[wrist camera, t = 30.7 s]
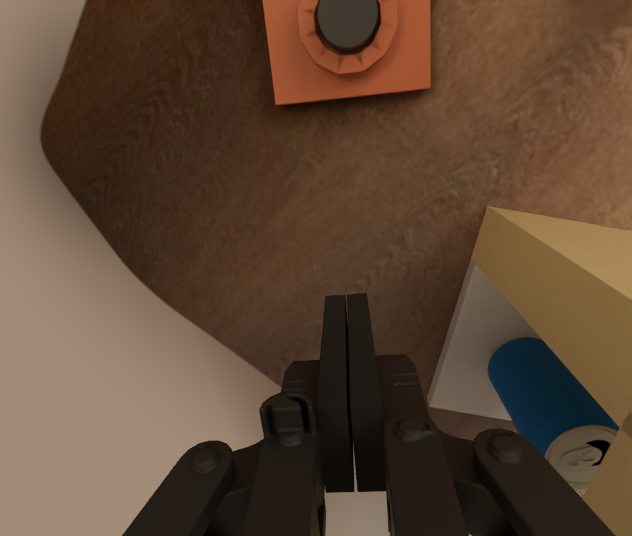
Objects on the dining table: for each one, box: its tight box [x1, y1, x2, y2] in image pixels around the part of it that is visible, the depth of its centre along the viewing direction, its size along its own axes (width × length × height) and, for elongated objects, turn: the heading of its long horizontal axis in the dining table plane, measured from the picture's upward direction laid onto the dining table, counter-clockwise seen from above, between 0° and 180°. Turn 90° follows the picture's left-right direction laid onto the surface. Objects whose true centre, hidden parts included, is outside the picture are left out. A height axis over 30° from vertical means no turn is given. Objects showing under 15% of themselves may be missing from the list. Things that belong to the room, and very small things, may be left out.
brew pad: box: [262, 0, 431, 106], centre depth 30 cm, size 12×10×4 cm
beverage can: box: [488, 337, 620, 489], centre depth 35 cm, size 6×6×12 cm
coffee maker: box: [427, 206, 632, 536], centre depth 28 cm, size 14×21×26 cm, turn 171°
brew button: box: [317, 0, 378, 51], centre depth 28 cm, size 4×4×2 cm
